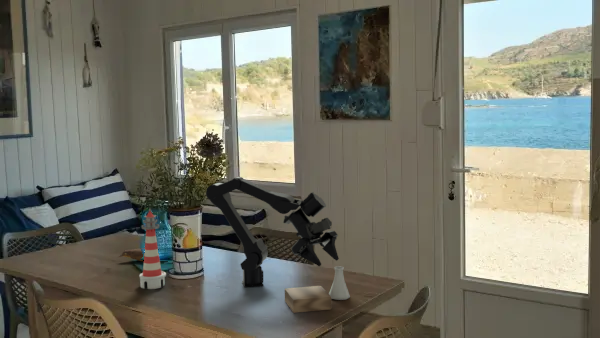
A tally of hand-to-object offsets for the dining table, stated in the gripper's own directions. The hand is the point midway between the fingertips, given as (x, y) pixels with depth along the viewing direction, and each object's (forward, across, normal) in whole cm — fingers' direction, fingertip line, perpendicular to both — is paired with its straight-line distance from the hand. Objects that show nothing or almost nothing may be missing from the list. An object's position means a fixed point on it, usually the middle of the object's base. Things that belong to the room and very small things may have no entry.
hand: (329, 262), depth 204 cm
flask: (+11, 0, +5) cm, 12 cm away
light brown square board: (+8, -13, +7) cm, 17 cm away
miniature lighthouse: (-31, -31, +46) cm, 64 cm away
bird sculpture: (-53, -10, +68) cm, 86 cm away
